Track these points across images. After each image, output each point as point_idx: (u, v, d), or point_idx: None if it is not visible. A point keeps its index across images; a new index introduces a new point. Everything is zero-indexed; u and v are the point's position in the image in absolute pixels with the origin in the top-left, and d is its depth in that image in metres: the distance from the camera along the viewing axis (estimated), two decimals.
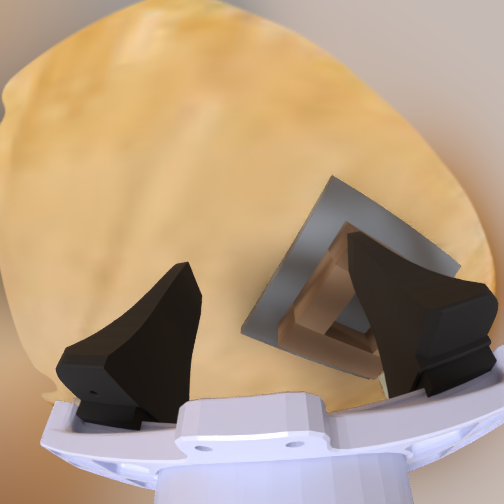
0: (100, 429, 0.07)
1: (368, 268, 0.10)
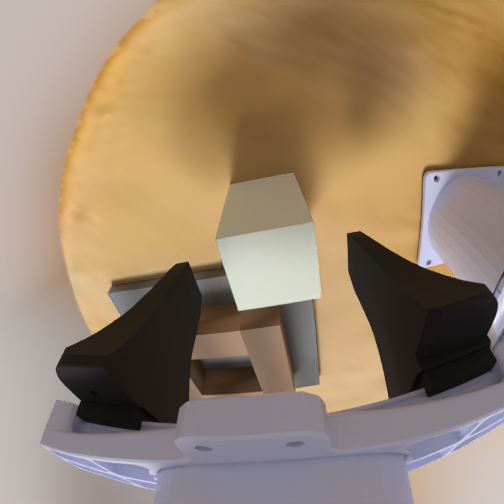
0: (100, 429, 0.07)
1: (368, 268, 0.10)
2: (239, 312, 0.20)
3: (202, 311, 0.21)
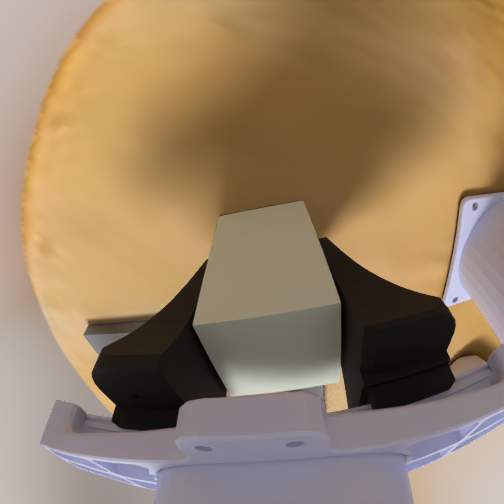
0: None
1: None
2: None
3: None
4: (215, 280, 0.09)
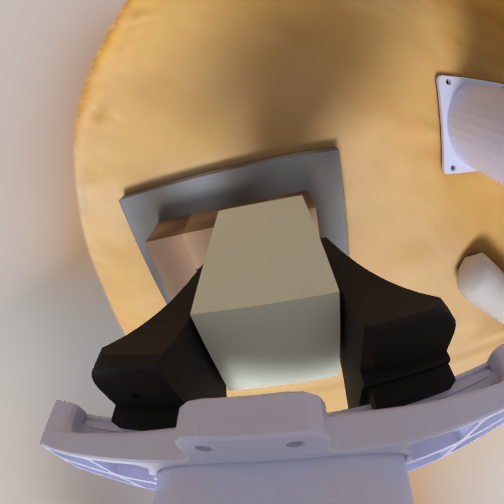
0: None
1: None
2: None
3: None
4: (213, 271, 0.09)
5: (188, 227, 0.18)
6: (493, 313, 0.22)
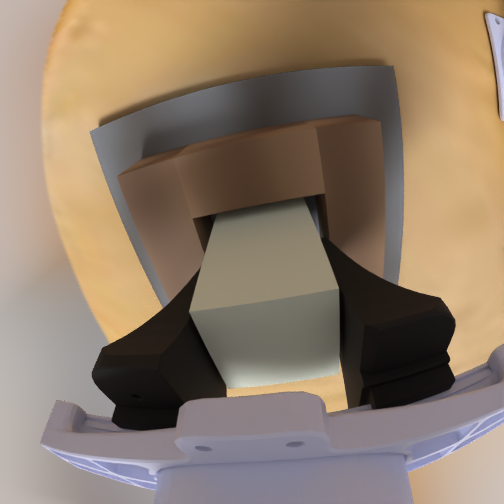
0: None
1: None
2: (305, 123, 0.11)
3: (240, 133, 0.12)
4: (213, 268, 0.09)
5: (183, 152, 0.11)
6: None
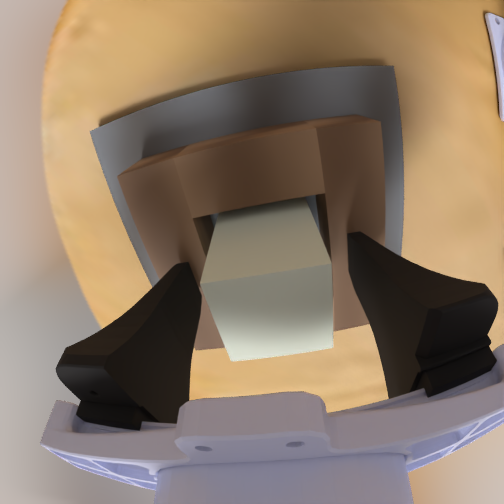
0: (100, 429, 0.07)
1: (368, 268, 0.10)
2: (305, 123, 0.11)
3: (241, 133, 0.12)
4: (220, 248, 0.10)
5: (184, 152, 0.11)
6: None
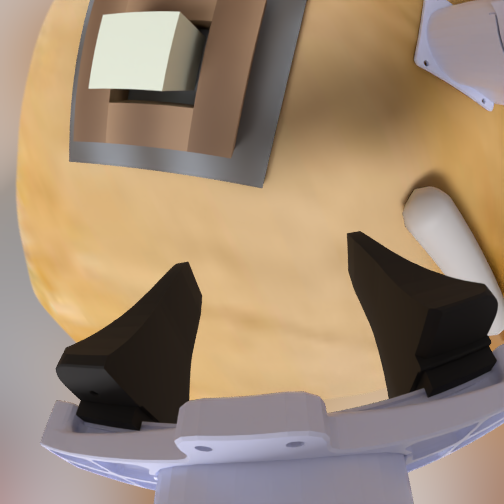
0: (100, 429, 0.07)
1: (368, 268, 0.10)
2: None
3: None
4: None
5: None
6: (451, 273, 0.21)
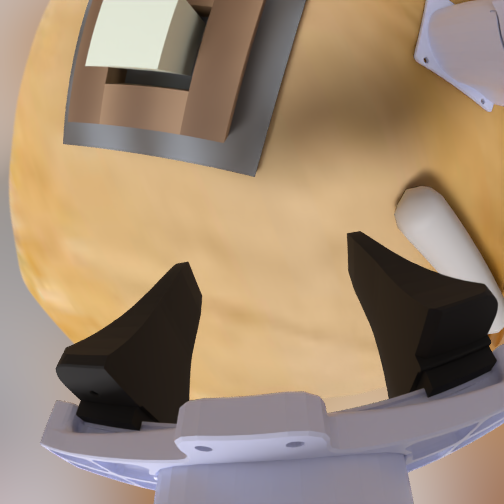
0: (100, 429, 0.07)
1: (368, 268, 0.10)
2: None
3: None
4: None
5: None
6: (446, 273, 0.21)
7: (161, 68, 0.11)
